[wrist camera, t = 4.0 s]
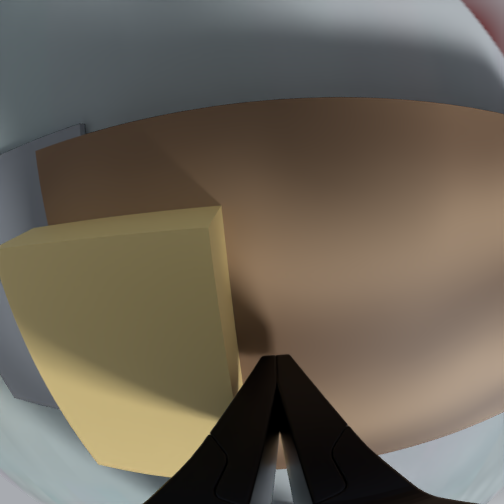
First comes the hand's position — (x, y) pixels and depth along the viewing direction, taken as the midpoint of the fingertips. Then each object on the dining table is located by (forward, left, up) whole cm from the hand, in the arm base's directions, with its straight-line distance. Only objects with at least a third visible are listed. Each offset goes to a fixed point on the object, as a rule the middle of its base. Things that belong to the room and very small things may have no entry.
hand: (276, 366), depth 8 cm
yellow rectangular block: (0, +4, -1) cm, 4 cm away
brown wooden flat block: (0, -4, -5) cm, 6 cm away
